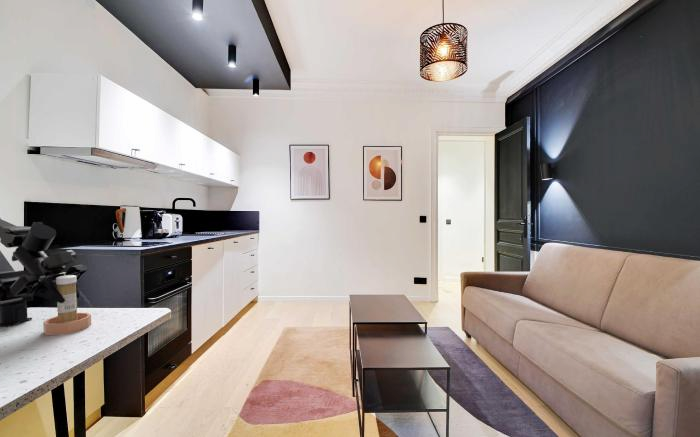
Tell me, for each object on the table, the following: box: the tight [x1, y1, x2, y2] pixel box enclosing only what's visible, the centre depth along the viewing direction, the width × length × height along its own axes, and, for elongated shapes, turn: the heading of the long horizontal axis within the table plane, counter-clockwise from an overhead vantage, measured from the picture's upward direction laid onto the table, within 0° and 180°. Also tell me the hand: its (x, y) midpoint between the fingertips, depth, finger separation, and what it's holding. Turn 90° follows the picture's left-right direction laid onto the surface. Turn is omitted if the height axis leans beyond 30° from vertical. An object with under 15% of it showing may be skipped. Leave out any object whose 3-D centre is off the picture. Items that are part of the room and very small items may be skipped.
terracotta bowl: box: [43, 312, 92, 336], centre depth 96 cm, size 10×10×3 cm
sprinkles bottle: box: [55, 275, 78, 323], centre depth 96 cm, size 5×5×14 cm
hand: (71, 299), depth 96 cm, fingers closed on sprinkles bottle, 4 cm apart
